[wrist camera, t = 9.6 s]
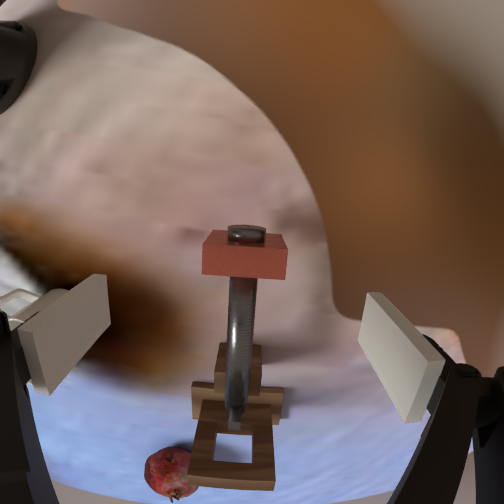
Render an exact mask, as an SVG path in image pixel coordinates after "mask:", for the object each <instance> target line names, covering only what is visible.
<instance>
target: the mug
mask: <svg viewBox="0 0 504 504" xmlns="http://www.w3.org/2000/svg"><path fill="white" fill-rule="evenodd" d="M68 291H69V290H66V289H53V290H51V291H49V292H47V293H46V294H44V295H43V296H40V295H37V294H34V293H31V292H29V291H26V290H24V289H16V290H14V291H12V292H10V293H8V294H6V295H4V296H2V297H0V306H1V305H3V304H5V303H7V302H8V301H10V300H12V299H14V298H22V299H24V300H27V301H30V302H32V303H30V304H29V305H27V306H26V307H24V308H23V309H21V310H20V311H18V312H17V313H16V314H14V315H13V316H8V315H7V317H8V322H9V326H10V330H11V331H12V330H13V329H14V328H16V327H17V326H18V325H20V324H21V323H22V322H23V323H24V321H25V320H27V319H29V317H31V316H32V315H33V314H35V313H36V312H39V311H41V310H43V309H44V308H46V307H47V306H48V305H50V304H51V303H53V302H54V301H55V300H57V299H58V298H60V297H61V296H62V295H64V294H65V293H67V292H68ZM0 311H2V310H1V309H0ZM27 383H29V384H31V385H33V383H32V380H31V379H30V380H29V381H28V382H27Z"/></svg>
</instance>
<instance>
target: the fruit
mask: <svg viewBox="0 0 504 504" xmlns="http://www.w3.org/2000/svg"><path fill="white" fill-rule="evenodd" d="M190 458H191V453H190V452H188V451H186V450H184V449H181V448H176V447H167V448H163V449H161V450H160V451H158V452H156V453H154V454H153V455H151V456H149V457H148V459H147V461H146V463H145V473H144V477H145V480H146V482H147V484H148V485H149V486H150V487H151V488H152V489H153V490H154V491H155V492H157V493H159V494H161V495H163V496H166V497H169V498H170V500H171V502H172V503H173V500H172V498H175V499H177V500H179V498H183V497H187V496H189V495H191V494H192V493H194V492H195V491H196V490H197V489H198V487H199V486H195V485H188V479H187V472H188V467H189V462H190Z"/></svg>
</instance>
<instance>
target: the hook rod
mask: <svg viewBox="0 0 504 504" xmlns="http://www.w3.org/2000/svg"><path fill="white" fill-rule="evenodd" d="M287 255H288V248H287V246H286V244H285V242H284V240H283V237H282V235H281V234H270V233H266V228H263V227H259V226H253V225H230V226H228V231H225V230H213V231H212V232H211V233H210V235H209V236H208V237H207V239H206V240H205V241H204V243H203V252H202V274H205V275H218V276H230V286H229V307H228V329H227V353H226V380H225V410H226V411H227V412H228V413H229V421H228V430H240V427H241V414H243V413H245V412H246V410H247V404H248V392H249V380H250V368H251V356H252V343H253V331H254V318H255V306H256V293H257V280H258V278H262V279H278V280H285V275H286V265H287Z"/></svg>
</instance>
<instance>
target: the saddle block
mask: <svg viewBox="0 0 504 504" xmlns="http://www.w3.org/2000/svg"><path fill="white" fill-rule="evenodd" d="M226 353H227V343H220V345H219V350H218V355H217V360H216V366H215V371H214V393H218V394H225V380H226ZM261 378H262V366H261V346H260V345H252V356H251V368H250V380H249V392H248V396H260V387H261Z"/></svg>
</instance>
